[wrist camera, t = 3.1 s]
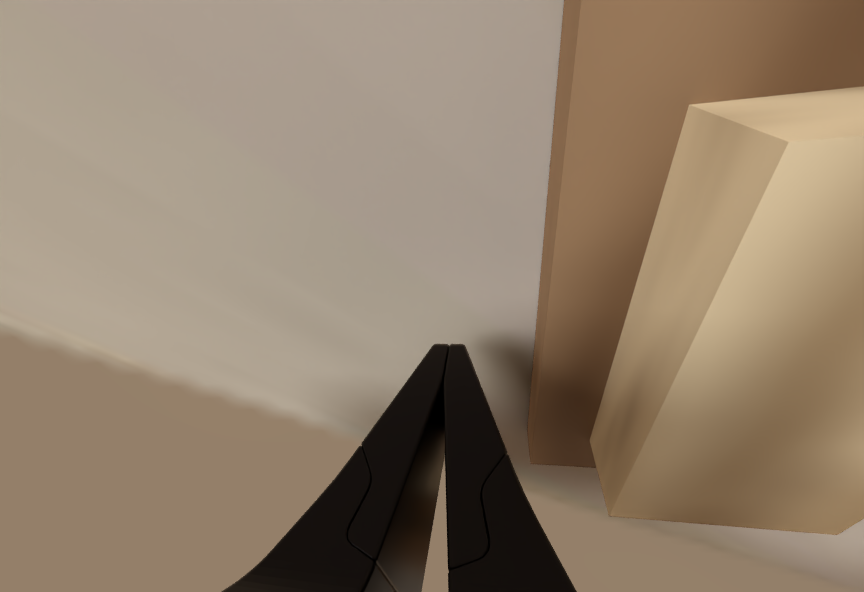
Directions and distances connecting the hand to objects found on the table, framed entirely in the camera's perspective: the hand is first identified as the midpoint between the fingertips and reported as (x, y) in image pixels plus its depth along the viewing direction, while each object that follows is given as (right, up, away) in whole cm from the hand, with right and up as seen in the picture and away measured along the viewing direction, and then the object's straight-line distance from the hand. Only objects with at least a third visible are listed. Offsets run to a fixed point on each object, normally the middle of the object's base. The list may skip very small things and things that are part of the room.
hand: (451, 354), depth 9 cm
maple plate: (+8, +1, -1) cm, 8 cm away
